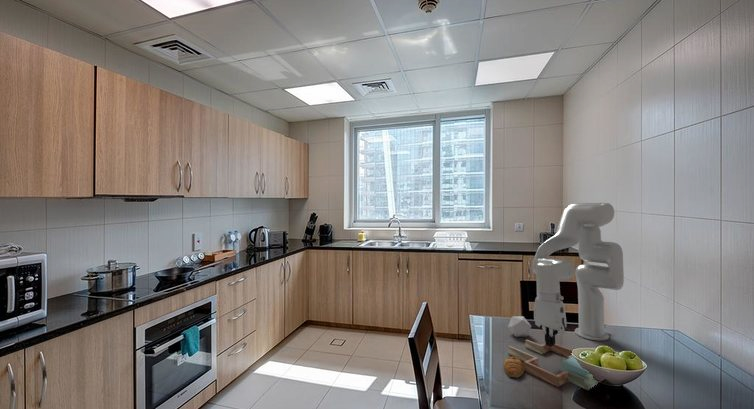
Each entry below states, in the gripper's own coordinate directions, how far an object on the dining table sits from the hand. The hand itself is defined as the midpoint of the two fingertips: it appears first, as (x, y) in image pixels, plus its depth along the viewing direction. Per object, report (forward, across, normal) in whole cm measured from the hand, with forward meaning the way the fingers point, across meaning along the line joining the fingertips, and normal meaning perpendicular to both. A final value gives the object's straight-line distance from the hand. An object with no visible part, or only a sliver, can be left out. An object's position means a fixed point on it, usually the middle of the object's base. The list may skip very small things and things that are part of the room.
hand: (550, 345), depth 116 cm
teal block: (+7, -11, +2) cm, 13 cm away
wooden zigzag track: (+7, -1, +1) cm, 7 cm away
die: (+8, +22, -13) cm, 26 cm away
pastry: (+6, +3, +17) cm, 18 cm away
